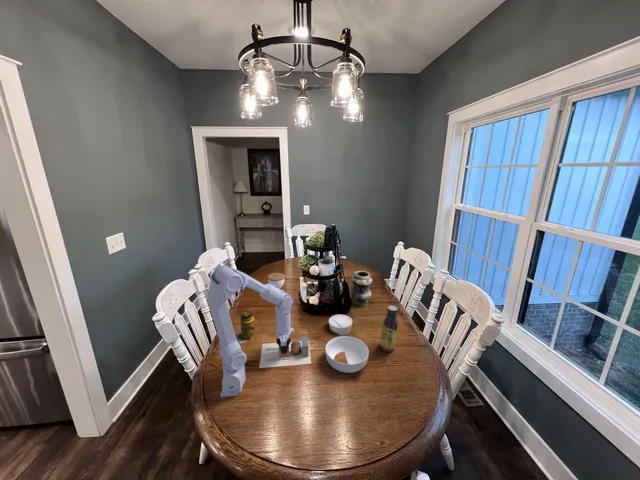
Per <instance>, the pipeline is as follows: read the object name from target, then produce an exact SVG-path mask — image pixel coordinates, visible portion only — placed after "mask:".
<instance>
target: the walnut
mask: <svg viewBox="0 0 640 480" xmlns="http://www.w3.org/2000/svg"><path fill="white" fill-rule="evenodd" d="M299 341H300V340H295V341H291V342H292V343H291V354H292V355H294V356H298V355H300V353H301V343H300V342H299Z"/></svg>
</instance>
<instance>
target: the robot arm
mask: <svg viewBox="0 0 640 480" xmlns="http://www.w3.org/2000/svg"><path fill="white" fill-rule="evenodd" d="M209 278H210V283H209V285H208V286H209V287H208V291H207V294H206V301H207V305H208V307H209V311H210V314H211V317H212V320H213V323H214V326H215V329H216V330H215V331H216V333H217V335H218V338H219V342H218V344H219V348H218V354H219V355H220V357H221V358H222V364H221V366H222V373H223V375H222V380H221V386H222V389H221V393H220V398H227V397H235V396H236V397H237V396H239V394H240V393H242V391H243V385H244V384H245V382H246V368H245V364H246V363H247V358H248V357H247V354H246V353H245V352H244V351H243V350H242V347H241V344H239V342H238V340H237V338H236V336H235V335H236V333H235V329H234V327H233V326H234V325H233V323H232V320H231V316H230V312H229V308H228V305H227V301H228V300H229V299H230V298H231V297H232V296H233V295H235V294H236V293H237V292H238V291H239V290H244V289H245V288H249V289H251V290H253V291H255V292H256V293H257V292H258V293H259V295H260V298H261V299H263V300H265V301H267V302H269V303H271V304H274V306H275V324H276V325H275V327H276V330H275V334H276V336H277V338H276V342H275V343H277V344H278V345H279V347H280V350H281V353H282V354H287V351H288V346H289V344H290V342H292V339H291V338H290V337H289V336H290V335H291V334H292V333H294V332H295V329H294V327H291V326H292V325H291V324H292V323H291V310H292V306H293V303H294V299H293V298H292V296H291V295H290V294H289V293H286V292H285V290H284V289H282V288H280V289H278V288H276V285H274V284H273V283H272V284H269V283H265V284H264V283H262V282H260V281H258V280H257V279H255V278H253V277H251V276H250V275H249V274H246V273H245V272H242V271H240V270H238V269H235V268H231V267H230V266H228V265H225V264H222V265H219V266H217V267H216V268H215V269H214V270H213V272H212V273H211V275H210V277H209ZM288 337H289V338H288Z"/></svg>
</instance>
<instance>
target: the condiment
mask: <svg viewBox="0 0 640 480" xmlns="http://www.w3.org/2000/svg"><path fill="white" fill-rule="evenodd" d="M239 321H240V322H239V323H240V333H236V334H235V336H236V339H237V342H238V343H239V345H241V344H244V343H246V342H251V337H254V336H255V334H256V327H255V317H254V313H253V311H252V310H243V312H242V313H240V320H239Z"/></svg>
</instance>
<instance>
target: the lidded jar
mask: <svg viewBox="0 0 640 480" xmlns="http://www.w3.org/2000/svg"><path fill="white" fill-rule="evenodd" d="M285 279H286V276H285V273H281V272H273V273H270V274H268V276H267V281H268V284H272V283H273V284H274V285H276V288H278V289H282V287H283V286H284V284H285Z"/></svg>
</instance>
